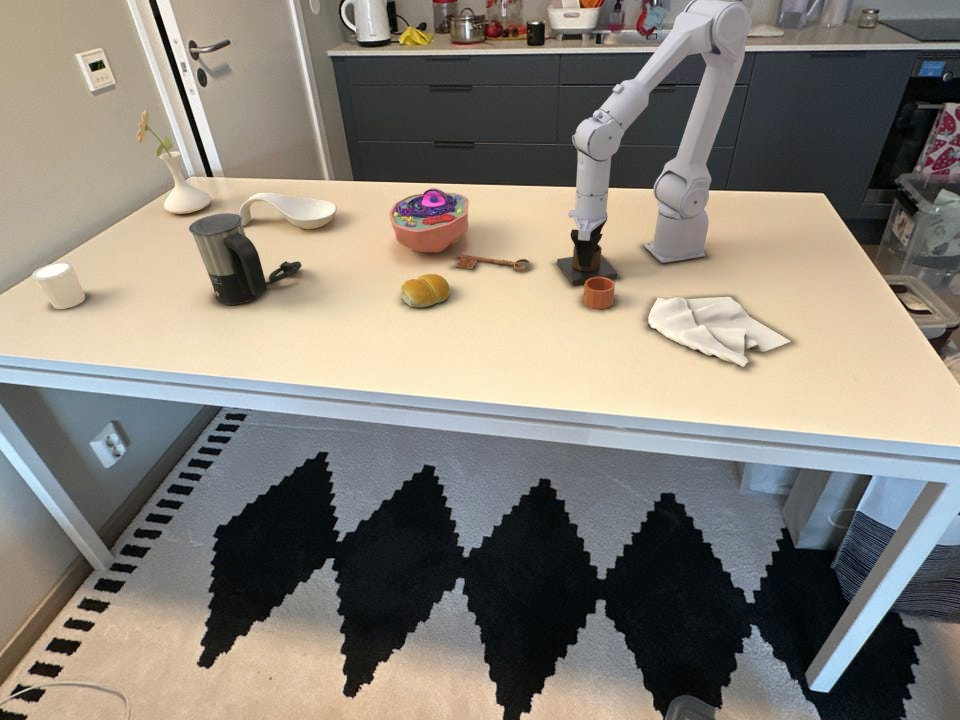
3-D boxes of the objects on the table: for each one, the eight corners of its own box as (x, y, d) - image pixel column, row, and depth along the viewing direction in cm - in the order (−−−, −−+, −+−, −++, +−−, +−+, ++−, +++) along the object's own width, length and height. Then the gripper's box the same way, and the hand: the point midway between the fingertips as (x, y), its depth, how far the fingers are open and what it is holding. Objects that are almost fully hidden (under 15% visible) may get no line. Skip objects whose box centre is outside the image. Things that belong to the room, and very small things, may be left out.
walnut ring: (593, 257, 116) (595, 240, 113) (604, 269, 112) (605, 252, 109) (569, 260, 115) (570, 244, 113) (578, 273, 111) (579, 256, 109)
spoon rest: (345, 214, 142) (339, 185, 137) (329, 235, 133) (323, 205, 128) (254, 213, 145) (245, 185, 140) (232, 234, 136) (223, 205, 131)
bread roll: (457, 297, 109) (456, 279, 106) (415, 313, 105) (413, 294, 102) (436, 280, 114) (434, 262, 112) (395, 294, 110) (392, 276, 108)
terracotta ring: (606, 291, 108) (607, 274, 105) (617, 306, 104) (619, 288, 101) (579, 296, 107) (580, 279, 105) (590, 311, 103) (591, 293, 101)
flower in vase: (181, 199, 155) (144, 100, 139) (221, 200, 153) (187, 99, 138) (153, 220, 144) (109, 115, 129) (195, 221, 143) (156, 114, 128)
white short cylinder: (48, 314, 111) (29, 282, 107) (50, 298, 116) (32, 267, 111) (88, 304, 113) (71, 272, 109) (89, 288, 118) (72, 258, 114)
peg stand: (598, 257, 118) (601, 225, 114) (617, 278, 111) (620, 245, 107) (556, 264, 117) (558, 232, 113) (572, 286, 110) (574, 252, 106)
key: (453, 268, 118) (523, 278, 113) (452, 264, 118) (523, 274, 113) (464, 253, 122) (532, 262, 117) (463, 249, 122) (532, 258, 117)
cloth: (641, 296, 106) (643, 284, 104) (767, 298, 103) (771, 286, 102) (655, 365, 90) (657, 352, 88) (805, 369, 87) (810, 357, 86)
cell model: (376, 260, 122) (367, 209, 115) (419, 221, 136) (413, 174, 129) (449, 272, 116) (444, 219, 109) (486, 230, 131) (484, 181, 124)
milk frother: (204, 301, 112) (176, 230, 103) (256, 263, 123) (235, 196, 114) (266, 313, 108) (242, 239, 98) (313, 272, 119) (295, 203, 110)
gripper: (576, 174, 111) (572, 240, 119) (562, 204, 100) (559, 274, 108) (614, 176, 109) (607, 243, 117) (604, 207, 98) (597, 278, 106)
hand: (587, 258), depth 112 cm, fingers closed on walnut ring, 5 cm apart
